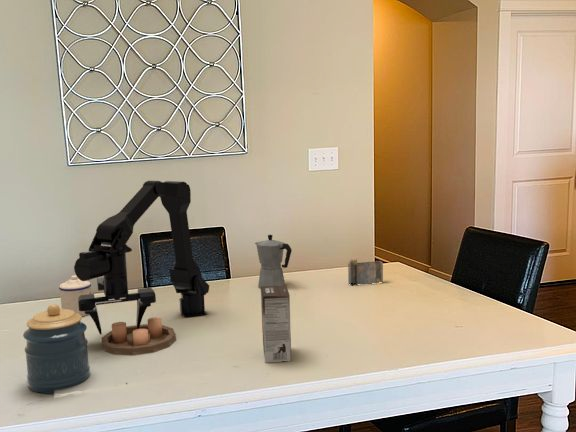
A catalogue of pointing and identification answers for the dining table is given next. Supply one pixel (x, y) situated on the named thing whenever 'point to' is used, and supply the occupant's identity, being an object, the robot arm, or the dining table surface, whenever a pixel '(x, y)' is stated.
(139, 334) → the bead
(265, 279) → the coffeepot
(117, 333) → the bead
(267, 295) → the coffee box
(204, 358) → the dining table surface
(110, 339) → the groove tray
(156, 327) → the bead
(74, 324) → the canister
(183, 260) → the robot arm
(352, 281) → the grey spool block
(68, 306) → the white lidded jar
